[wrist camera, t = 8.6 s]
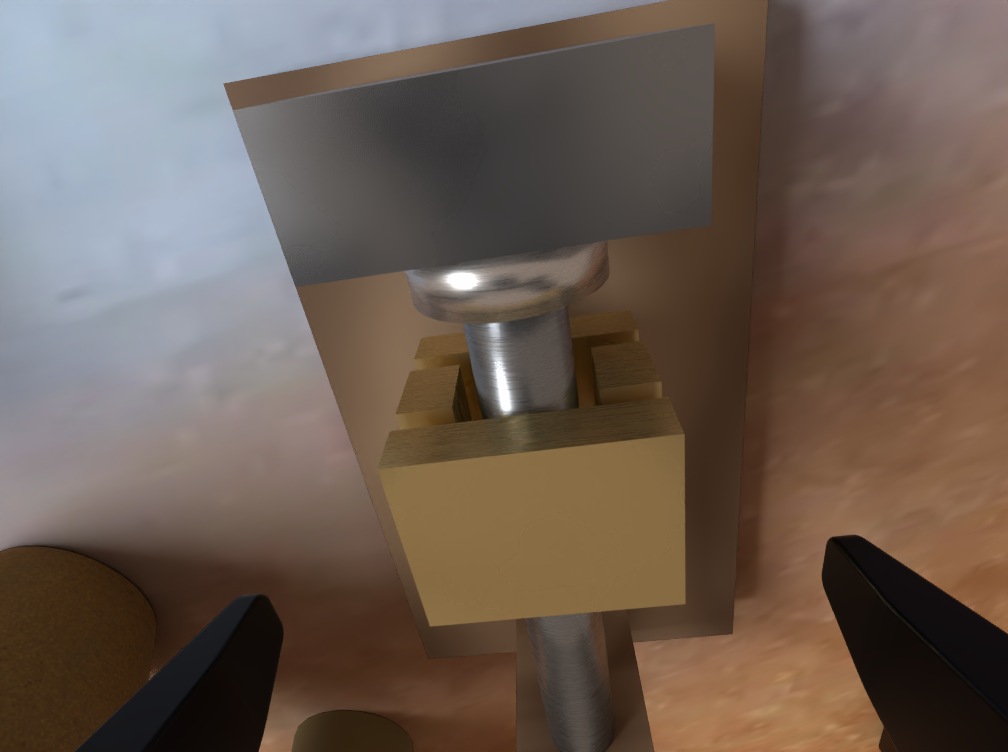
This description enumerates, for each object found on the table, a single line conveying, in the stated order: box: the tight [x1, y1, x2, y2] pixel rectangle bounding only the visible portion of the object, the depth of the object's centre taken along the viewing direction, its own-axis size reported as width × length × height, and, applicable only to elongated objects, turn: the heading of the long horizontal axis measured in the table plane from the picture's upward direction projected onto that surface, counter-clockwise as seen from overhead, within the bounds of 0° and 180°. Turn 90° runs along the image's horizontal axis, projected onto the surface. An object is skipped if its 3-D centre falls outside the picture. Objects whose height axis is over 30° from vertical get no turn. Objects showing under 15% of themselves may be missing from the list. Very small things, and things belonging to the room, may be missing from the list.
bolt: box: [233, 23, 715, 752], centre depth 14 cm, size 6×19×6 cm, turn 9°
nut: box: [377, 309, 685, 627], centre depth 12 cm, size 5×4×5 cm
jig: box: [224, 0, 768, 752], centre depth 16 cm, size 12×21×7 cm, turn 9°
